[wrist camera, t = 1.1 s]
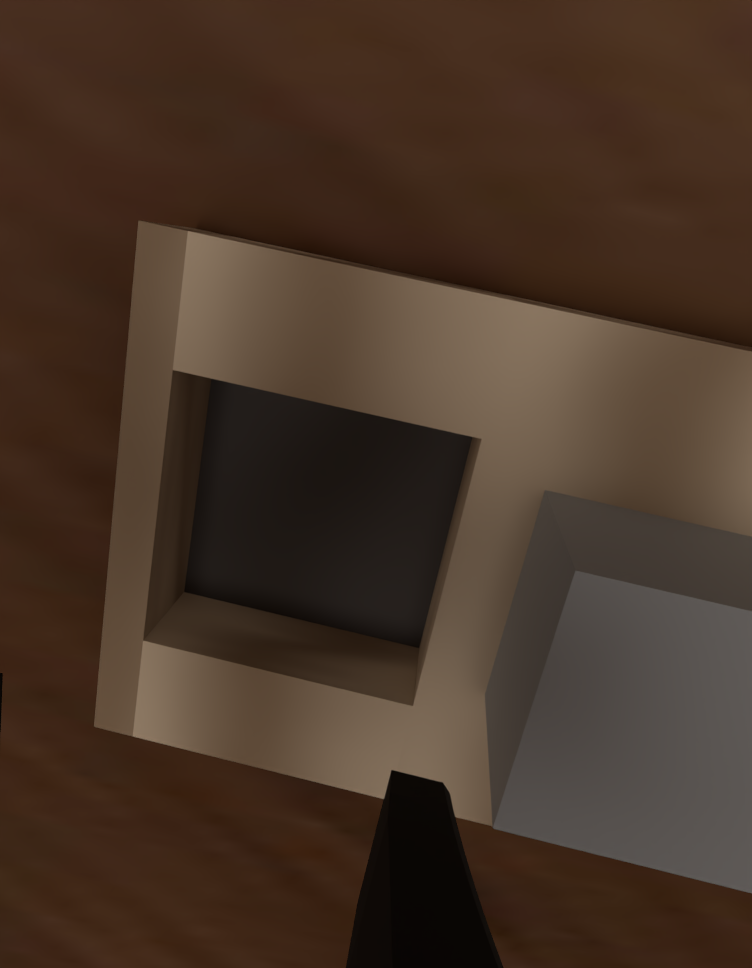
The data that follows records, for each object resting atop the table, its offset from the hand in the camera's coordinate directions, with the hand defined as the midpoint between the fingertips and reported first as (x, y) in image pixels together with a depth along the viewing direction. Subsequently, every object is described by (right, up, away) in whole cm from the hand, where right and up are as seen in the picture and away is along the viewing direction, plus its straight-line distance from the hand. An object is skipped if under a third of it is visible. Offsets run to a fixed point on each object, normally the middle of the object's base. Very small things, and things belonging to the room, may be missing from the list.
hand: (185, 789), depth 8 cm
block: (+8, +1, +7) cm, 10 cm away
